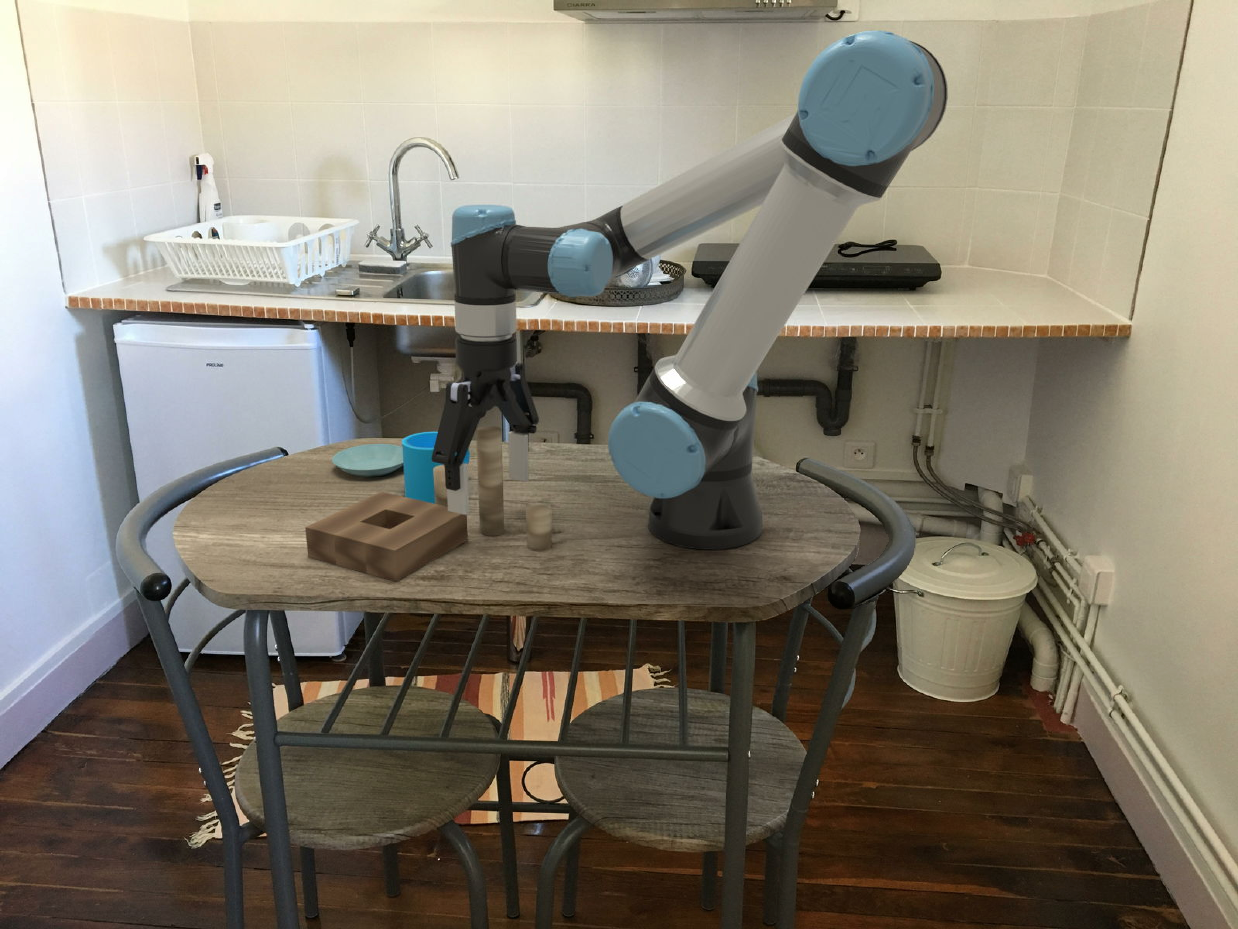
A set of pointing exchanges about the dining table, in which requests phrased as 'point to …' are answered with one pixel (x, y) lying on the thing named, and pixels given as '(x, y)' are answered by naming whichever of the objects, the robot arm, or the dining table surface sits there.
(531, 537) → the dowel short
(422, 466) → the mug
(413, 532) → the collar block
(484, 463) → the dowel long
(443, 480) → the dowel mid
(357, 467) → the saucer
